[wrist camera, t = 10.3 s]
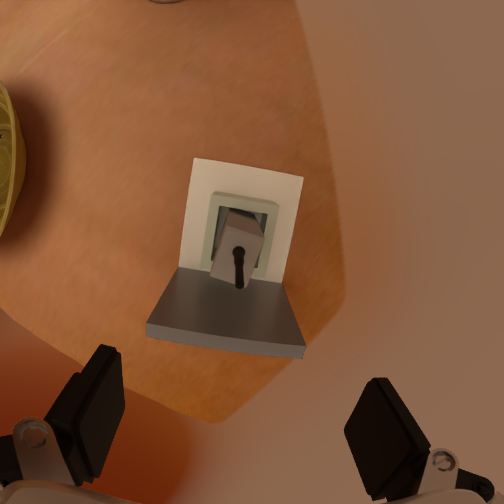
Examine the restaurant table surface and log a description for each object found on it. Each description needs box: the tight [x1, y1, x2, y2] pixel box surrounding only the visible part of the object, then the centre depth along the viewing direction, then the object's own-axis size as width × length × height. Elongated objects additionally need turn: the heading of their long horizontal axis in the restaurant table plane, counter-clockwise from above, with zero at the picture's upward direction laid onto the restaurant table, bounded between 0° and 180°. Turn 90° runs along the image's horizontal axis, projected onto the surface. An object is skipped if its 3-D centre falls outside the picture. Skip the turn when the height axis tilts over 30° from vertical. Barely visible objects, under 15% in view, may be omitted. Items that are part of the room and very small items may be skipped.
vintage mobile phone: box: [210, 207, 265, 289], centre depth 31 cm, size 4×5×25 cm
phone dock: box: [146, 158, 306, 359], centre depth 35 cm, size 18×16×19 cm
